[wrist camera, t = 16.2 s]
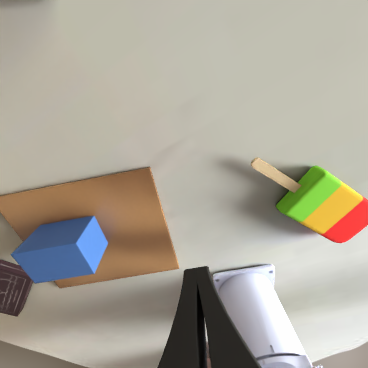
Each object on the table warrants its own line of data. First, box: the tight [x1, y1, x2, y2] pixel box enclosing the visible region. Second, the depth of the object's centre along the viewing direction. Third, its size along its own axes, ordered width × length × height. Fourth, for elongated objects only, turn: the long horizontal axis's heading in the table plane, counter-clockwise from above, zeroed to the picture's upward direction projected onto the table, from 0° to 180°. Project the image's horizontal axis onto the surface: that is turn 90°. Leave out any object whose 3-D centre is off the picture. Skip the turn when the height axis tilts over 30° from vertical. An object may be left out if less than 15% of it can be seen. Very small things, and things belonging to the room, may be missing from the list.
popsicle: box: [251, 158, 368, 243], centre depth 19 cm, size 6×15×2 cm, turn 59°
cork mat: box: [0, 167, 179, 288], centre depth 21 cm, size 14×16×1 cm
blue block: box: [11, 216, 108, 283], centre depth 19 cm, size 4×4×6 cm
